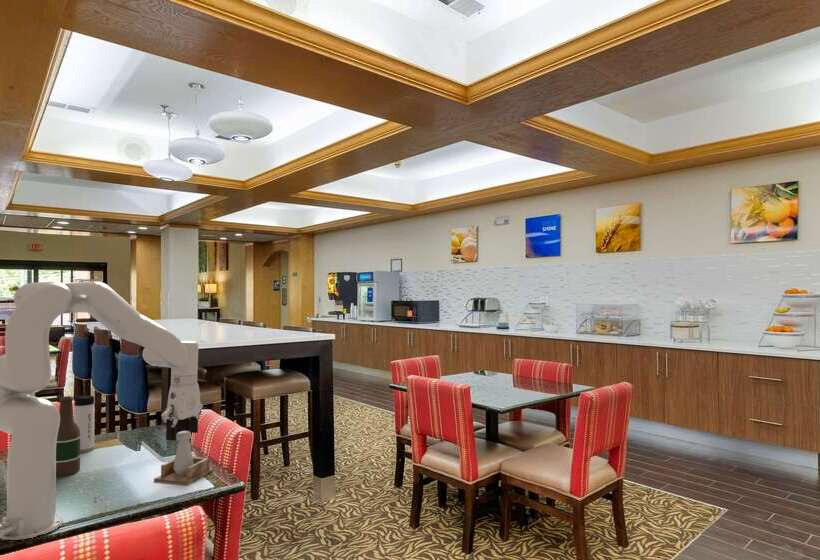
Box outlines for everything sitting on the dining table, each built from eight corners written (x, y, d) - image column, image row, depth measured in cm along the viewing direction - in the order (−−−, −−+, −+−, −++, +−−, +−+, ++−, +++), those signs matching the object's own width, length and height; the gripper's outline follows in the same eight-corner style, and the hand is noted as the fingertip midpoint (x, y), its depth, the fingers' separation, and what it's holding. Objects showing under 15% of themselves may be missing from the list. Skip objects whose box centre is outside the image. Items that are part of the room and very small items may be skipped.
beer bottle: (65, 477, 159) (66, 400, 160) (44, 476, 161) (45, 399, 161) (86, 469, 167) (86, 395, 167) (65, 467, 168) (66, 394, 169)
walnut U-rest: (187, 485, 152) (187, 470, 153) (153, 481, 156) (154, 467, 156) (213, 471, 164) (213, 457, 164) (181, 468, 167) (181, 454, 167)
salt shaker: (169, 475, 159) (169, 432, 159) (185, 469, 164) (185, 428, 164) (181, 478, 156) (181, 435, 156) (197, 472, 161) (197, 430, 161)
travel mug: (74, 449, 188) (74, 394, 189) (95, 446, 191) (95, 392, 192) (71, 454, 183) (71, 397, 183) (92, 451, 185) (93, 395, 186)
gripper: (174, 385, 151) (172, 444, 150) (212, 377, 168) (210, 430, 167) (153, 383, 153) (151, 442, 152) (192, 376, 170) (190, 429, 169)
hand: (182, 436), depth 159 cm, fingers open, 9 cm apart
